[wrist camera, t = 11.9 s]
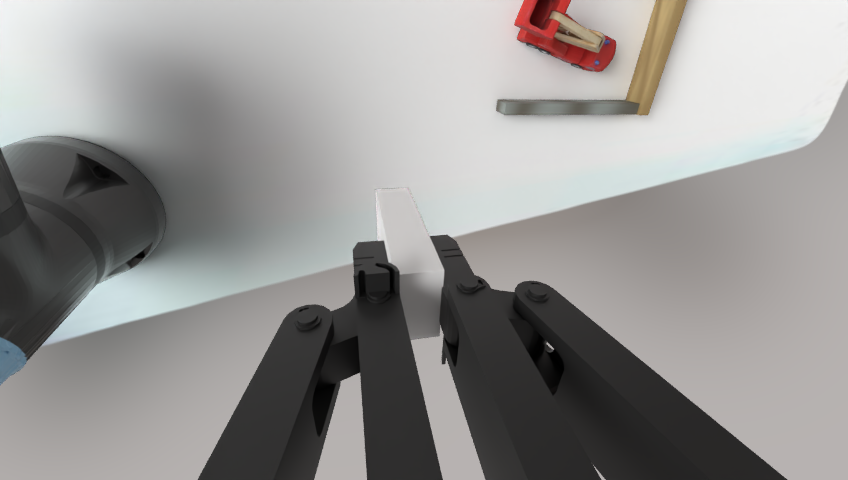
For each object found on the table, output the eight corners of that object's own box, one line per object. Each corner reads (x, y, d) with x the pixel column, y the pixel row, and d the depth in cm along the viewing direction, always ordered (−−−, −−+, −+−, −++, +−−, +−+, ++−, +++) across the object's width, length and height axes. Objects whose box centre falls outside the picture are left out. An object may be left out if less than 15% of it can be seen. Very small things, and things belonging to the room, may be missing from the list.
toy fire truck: (585, 72, 42) (644, 83, 34) (484, 26, 37) (524, 26, 29) (601, 41, 40) (666, 45, 32) (497, -11, 36) (544, -22, 28)
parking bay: (496, 110, 42) (506, 115, 39) (516, -45, 35) (530, -51, 32) (630, 110, 45) (648, 115, 43) (675, -31, 38) (699, -36, 35)
